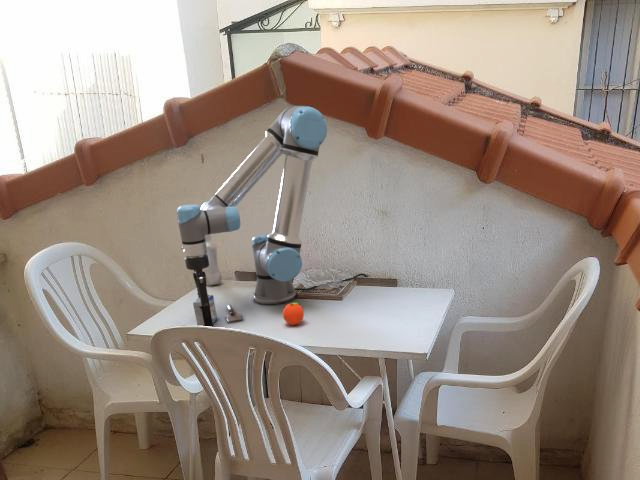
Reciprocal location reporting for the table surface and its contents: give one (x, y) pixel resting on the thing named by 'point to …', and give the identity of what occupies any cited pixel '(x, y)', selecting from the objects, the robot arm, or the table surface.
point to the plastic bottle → (212, 263)
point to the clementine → (293, 313)
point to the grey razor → (233, 315)
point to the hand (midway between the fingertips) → (207, 321)
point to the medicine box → (199, 311)
